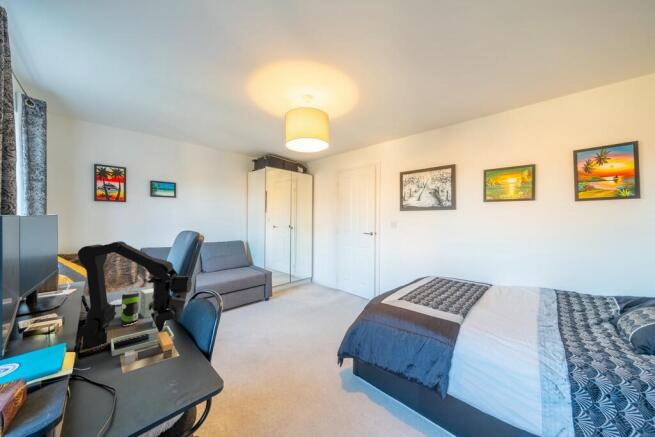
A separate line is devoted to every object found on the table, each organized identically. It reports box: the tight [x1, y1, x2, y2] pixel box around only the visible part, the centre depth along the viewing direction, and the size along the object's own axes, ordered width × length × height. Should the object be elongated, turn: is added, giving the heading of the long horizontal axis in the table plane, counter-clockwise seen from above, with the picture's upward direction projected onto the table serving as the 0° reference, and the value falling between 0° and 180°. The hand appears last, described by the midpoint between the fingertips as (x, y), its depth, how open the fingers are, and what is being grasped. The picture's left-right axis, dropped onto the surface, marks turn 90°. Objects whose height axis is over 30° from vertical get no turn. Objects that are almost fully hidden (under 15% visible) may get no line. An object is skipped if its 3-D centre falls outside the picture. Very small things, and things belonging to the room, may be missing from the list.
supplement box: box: [139, 287, 154, 319], centre depth 126 cm, size 7×7×13 cm
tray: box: [110, 325, 175, 357], centre depth 98 cm, size 19×12×2 cm, turn 133°
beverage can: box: [120, 290, 140, 326], centre depth 114 cm, size 6×6×15 cm
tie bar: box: [156, 330, 174, 351], centre depth 91 cm, size 3×12×2 cm, turn 43°
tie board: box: [119, 341, 180, 374], centre depth 88 cm, size 16×13×4 cm
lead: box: [123, 345, 163, 365], centre depth 88 cm, size 14×3×3 cm, turn 133°
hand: (160, 331), depth 99 cm, fingers closed
